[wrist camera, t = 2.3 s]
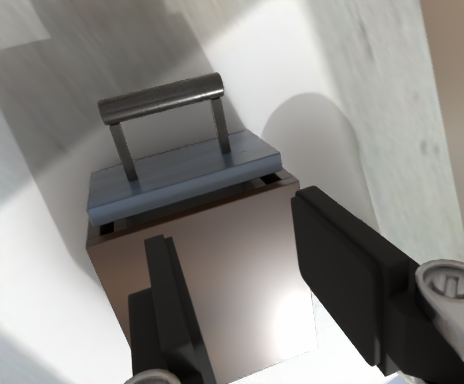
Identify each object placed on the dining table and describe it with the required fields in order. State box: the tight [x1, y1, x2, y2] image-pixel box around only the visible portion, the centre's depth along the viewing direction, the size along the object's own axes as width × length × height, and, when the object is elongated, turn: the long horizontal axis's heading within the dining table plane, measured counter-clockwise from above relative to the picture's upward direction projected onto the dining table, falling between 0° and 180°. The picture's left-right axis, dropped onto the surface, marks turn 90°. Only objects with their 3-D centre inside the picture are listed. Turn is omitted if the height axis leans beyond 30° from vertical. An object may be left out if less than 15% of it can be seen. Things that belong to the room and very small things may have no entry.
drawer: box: [86, 72, 282, 232], centre depth 25 cm, size 18×11×6 cm, turn 11°
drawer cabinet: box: [85, 168, 317, 384], centre depth 27 cm, size 15×13×8 cm
